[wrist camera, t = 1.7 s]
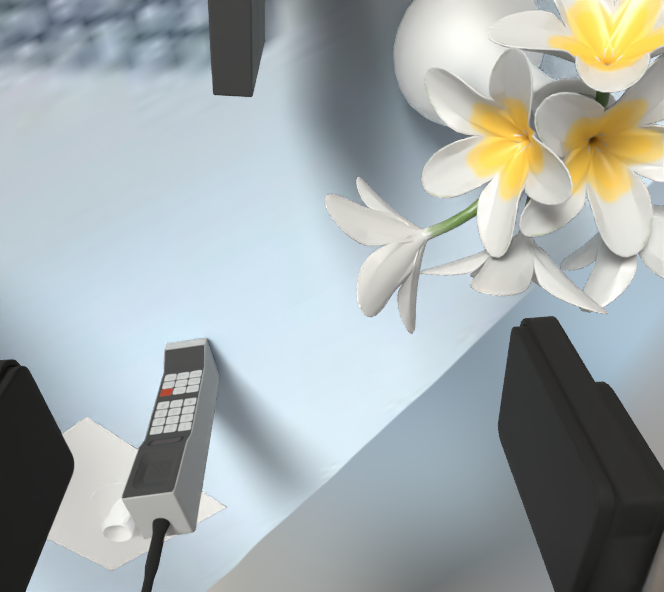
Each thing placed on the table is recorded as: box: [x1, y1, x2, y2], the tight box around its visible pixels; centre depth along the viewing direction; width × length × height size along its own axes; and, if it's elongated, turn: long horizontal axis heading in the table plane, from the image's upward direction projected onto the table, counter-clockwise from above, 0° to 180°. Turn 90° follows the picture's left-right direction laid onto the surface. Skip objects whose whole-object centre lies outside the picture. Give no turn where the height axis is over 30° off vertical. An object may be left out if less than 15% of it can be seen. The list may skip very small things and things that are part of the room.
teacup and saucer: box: [89, 482, 137, 543], centre depth 63 cm, size 9×8×4 cm
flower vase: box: [325, 0, 664, 334], centre depth 28 cm, size 13×18×25 cm
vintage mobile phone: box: [122, 338, 220, 592], centre depth 43 cm, size 4×5×25 cm
